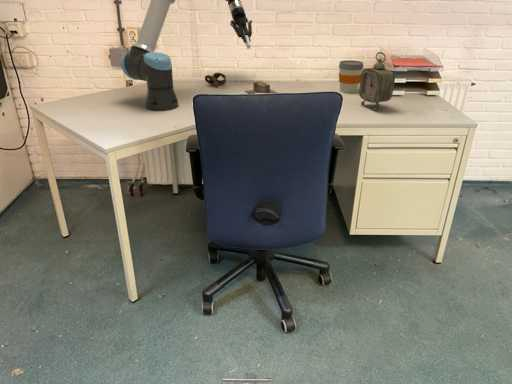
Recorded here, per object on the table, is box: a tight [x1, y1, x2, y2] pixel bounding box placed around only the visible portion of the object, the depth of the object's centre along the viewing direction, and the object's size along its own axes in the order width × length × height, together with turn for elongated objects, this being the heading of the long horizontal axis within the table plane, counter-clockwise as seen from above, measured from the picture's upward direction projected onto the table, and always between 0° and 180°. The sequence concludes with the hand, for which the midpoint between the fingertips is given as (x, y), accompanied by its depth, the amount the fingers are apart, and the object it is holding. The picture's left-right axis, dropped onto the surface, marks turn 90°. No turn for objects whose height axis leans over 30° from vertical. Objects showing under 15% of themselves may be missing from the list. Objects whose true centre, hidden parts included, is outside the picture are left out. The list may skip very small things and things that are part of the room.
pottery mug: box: [204, 72, 227, 89], centre depth 225 cm, size 12×10×8 cm
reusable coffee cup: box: [338, 59, 364, 94], centre depth 215 cm, size 12×12×15 cm
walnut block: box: [252, 80, 271, 93], centre depth 212 cm, size 4×4×11 cm
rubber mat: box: [244, 88, 278, 95], centre depth 213 cm, size 14×11×1 cm
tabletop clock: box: [358, 51, 396, 112], centre depth 184 cm, size 14×9×25 cm, turn 21°
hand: (249, 46), depth 218 cm, fingers closed
